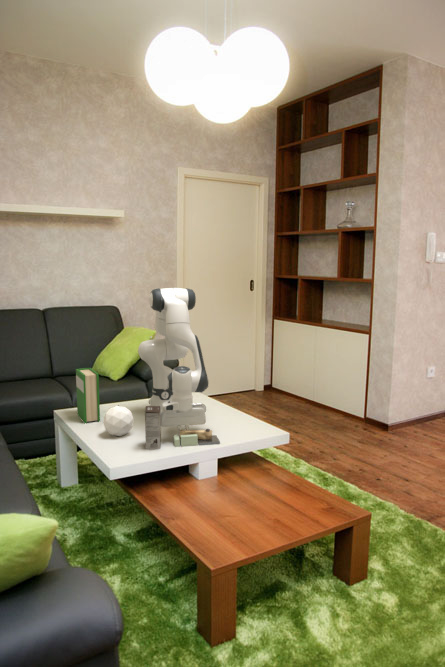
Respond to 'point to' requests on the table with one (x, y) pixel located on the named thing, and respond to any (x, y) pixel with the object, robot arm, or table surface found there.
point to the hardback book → (88, 394)
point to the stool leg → (198, 433)
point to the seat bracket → (185, 440)
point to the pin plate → (209, 441)
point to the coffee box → (153, 427)
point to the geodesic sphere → (118, 420)
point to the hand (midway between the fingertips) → (182, 434)
